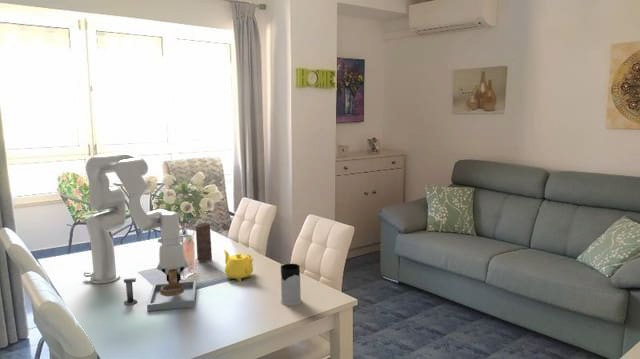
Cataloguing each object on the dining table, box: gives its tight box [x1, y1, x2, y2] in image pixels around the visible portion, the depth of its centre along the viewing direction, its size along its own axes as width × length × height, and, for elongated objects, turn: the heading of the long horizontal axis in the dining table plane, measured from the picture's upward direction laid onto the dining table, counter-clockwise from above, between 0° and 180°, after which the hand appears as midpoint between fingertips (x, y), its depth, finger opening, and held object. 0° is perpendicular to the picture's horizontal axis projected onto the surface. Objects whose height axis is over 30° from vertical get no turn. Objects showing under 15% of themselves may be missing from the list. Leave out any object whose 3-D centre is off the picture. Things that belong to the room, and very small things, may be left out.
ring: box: [160, 268, 184, 296], centre depth 199 cm, size 9×15×7 cm, turn 12°
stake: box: [123, 277, 138, 306], centre depth 196 cm, size 5×5×10 cm
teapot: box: [223, 249, 255, 282], centre depth 224 cm, size 20×15×12 cm
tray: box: [146, 279, 197, 313], centre depth 201 cm, size 18×22×3 cm
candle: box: [195, 222, 213, 262], centre depth 246 cm, size 8×7×20 cm
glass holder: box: [280, 263, 303, 307], centre depth 198 cm, size 9×14×15 cm, turn 28°
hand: (173, 282), depth 205 cm, fingers closed on ring, 2 cm apart
